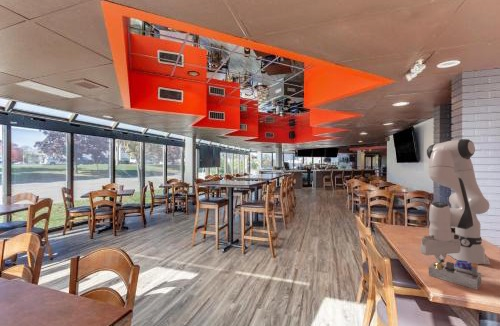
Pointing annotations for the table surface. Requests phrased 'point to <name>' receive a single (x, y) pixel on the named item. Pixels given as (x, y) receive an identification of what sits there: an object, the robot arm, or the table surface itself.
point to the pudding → (463, 265)
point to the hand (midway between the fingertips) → (440, 262)
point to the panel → (456, 276)
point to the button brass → (438, 264)
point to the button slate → (450, 266)
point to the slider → (474, 269)
